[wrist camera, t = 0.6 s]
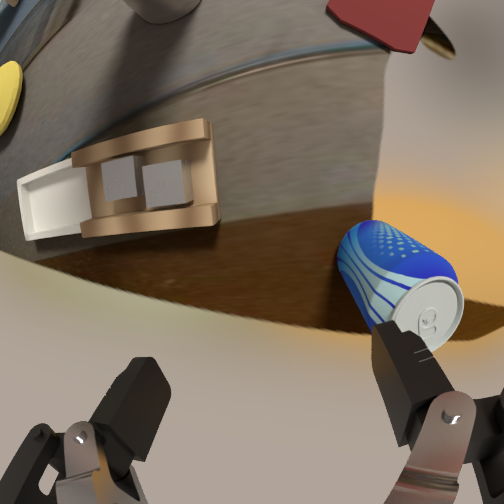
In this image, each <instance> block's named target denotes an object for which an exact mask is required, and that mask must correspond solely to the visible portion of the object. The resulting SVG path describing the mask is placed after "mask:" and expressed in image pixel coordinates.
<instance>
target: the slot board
mask: <svg viewBox="0 0 504 504" xmlns="http://www.w3.org/2000/svg"><path fill="white" fill-rule="evenodd" d="M129 156H145V157H146V166H147V165H152V164H158V163H163V162H169V161H175V160H190V164H191V174H192V184H193V193H194V200H192V201H190V202H187V203H183V204H174V205H166V206H158V207H150V208H147V205H146V197H145V194H144V195H140V196H136V197H130V198H124V199H118V200H112V201H107V202H105V195H104V187H103V179H102V169H101V163H105V162H109V161H113V160H117V159H121V158H125V157H129ZM71 158H72V168H79V167H86V177H87V186H88V194H89V201H90V208H91V215H92V218H91V219H88V220H86V221H83V222H80V228H81V234H82V238H87V237H96V236H105V235H114V234H124V233H134V232H144V231H154V230H165V229H177V228H188V227H201V226H213V225H214V224H215V223H217V222H218V221H219V220H220V219H221V212H220V203H219V193H218V183H217V173H216V162H215V151H214V139H213V127H212V124H211V123H210V122H208V121H206V120H205V119H203V118H202V119H196V120H190V121H185V122H179V123H174V124H170V125H165V126H160V127H156V128H152V129H148V130H143V131H139V132H136V133H132V134H128V135H124V136H121V137H117V138H114V139H111V140H107V141H104V142H101V143H98V144H95V145H92V146H89V147H86V148H83V149H80V150H77V151H74V152H72V153H71Z"/></svg>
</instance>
